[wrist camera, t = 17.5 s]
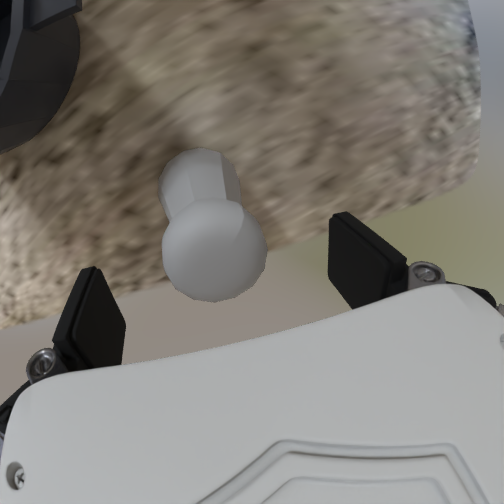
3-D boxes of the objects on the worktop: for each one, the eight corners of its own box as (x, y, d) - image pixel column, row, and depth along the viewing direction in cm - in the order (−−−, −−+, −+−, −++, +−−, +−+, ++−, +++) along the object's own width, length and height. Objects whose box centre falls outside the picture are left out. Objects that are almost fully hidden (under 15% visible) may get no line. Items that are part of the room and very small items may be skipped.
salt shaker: (242, 197, 23) (305, 293, 12) (178, 224, 23) (185, 343, 12) (217, 131, 20) (266, 167, 9) (148, 162, 20) (112, 236, 9)
